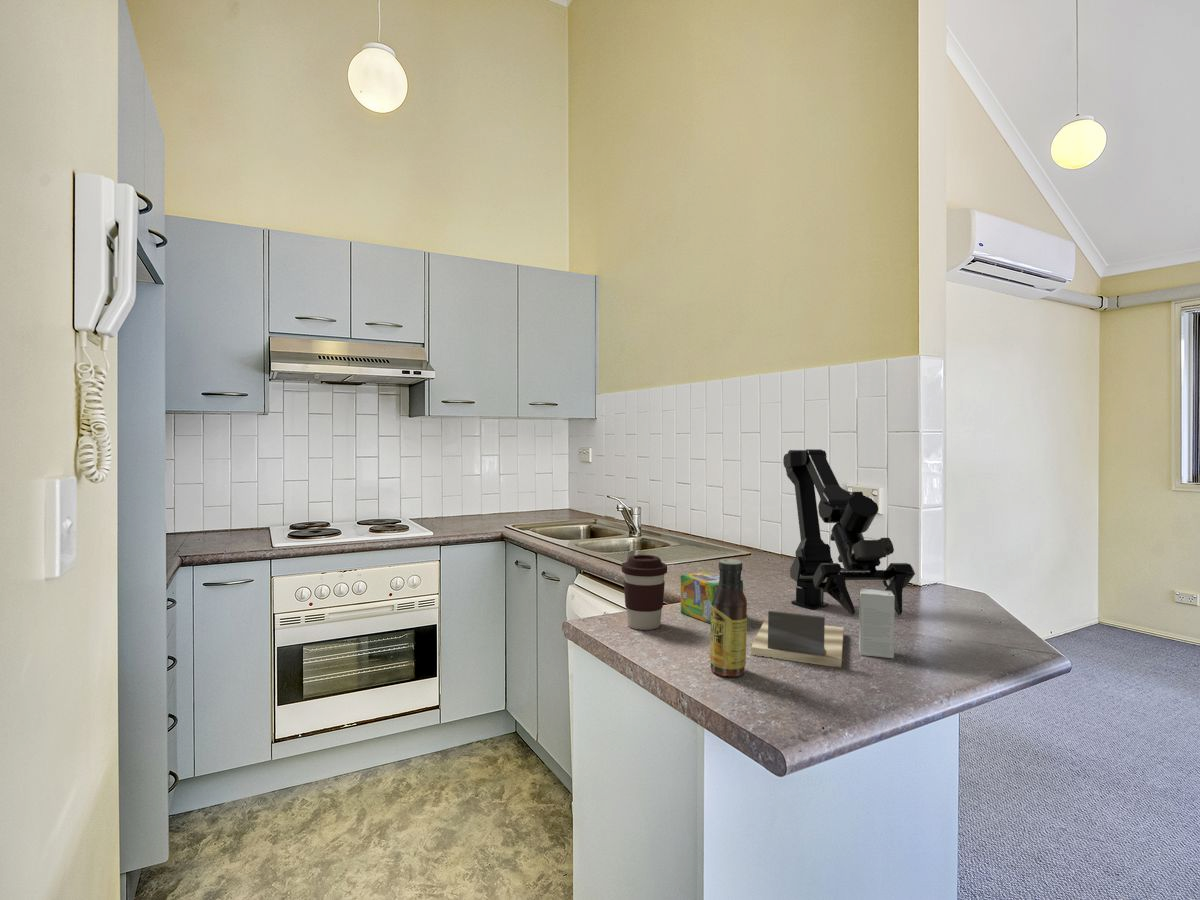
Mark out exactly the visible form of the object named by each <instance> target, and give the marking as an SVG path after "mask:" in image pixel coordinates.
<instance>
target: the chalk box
mask: <svg viewBox="0 0 1200 900" xmlns="http://www.w3.org/2000/svg"><path fill="white" fill-rule="evenodd" d="M719 574H720V573H715V572H711V571H708V570H707V571H700V572H694V573H693V572H692V573H686V574H681V575H680V613H681V614H684V615H686V616H690V617H692V618H695V619H697V620H700V621H703V622H705V623H707V624H710V625H711V604H712V601H713V598H714V596H715V593H716V590H717V587H718V585H719ZM740 588H741V590H742V591H743V592H744V581H743V579H741V587H740Z"/></svg>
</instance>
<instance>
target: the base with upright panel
mask: <svg viewBox="0 0 1200 900" xmlns="http://www.w3.org/2000/svg"><path fill="white" fill-rule="evenodd" d="M767 614H768V615H767V618H766V617H765V618H764V620H763V623H762V624H761V626H760V628H759V630H758V633H757V635H756V637H755V638H754V640H753V642H752V644H751V647H750V655H751V656H755V655H756V656H757V657H762V656H764V657H765V658H770V657H772V659H777V658H778V659H777V660H785V661H791V662H798V663H805V664H813V665H821V666H826V667H833V668H839V669H840V668H842V663H843V662H842V659H843V645H844V626H843V627H842V626H835V625H826V624H825V619H826V617H825V616H821V615H811V614H804V613H803V614H802V613H793V612H785V611H775V610H768V611H767Z"/></svg>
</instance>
